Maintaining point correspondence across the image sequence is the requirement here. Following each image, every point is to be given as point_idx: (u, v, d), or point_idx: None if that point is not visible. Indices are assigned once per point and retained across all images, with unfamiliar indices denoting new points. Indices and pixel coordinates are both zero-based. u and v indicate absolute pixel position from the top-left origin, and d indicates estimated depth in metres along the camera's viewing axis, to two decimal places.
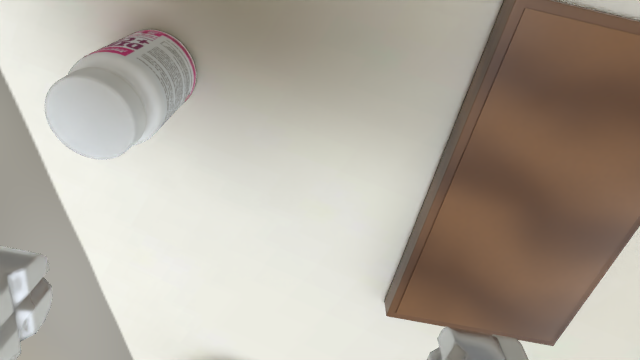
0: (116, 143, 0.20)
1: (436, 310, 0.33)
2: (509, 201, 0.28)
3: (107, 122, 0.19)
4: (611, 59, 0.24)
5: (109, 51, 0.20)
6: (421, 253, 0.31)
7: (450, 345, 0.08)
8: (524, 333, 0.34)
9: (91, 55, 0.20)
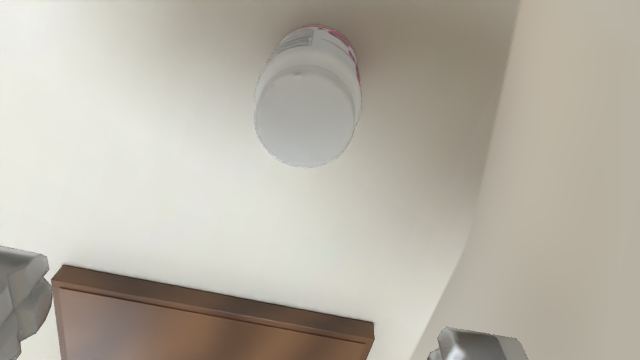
0: (277, 145, 0.17)
1: (76, 317, 0.33)
2: (213, 353, 0.34)
3: (302, 142, 0.17)
4: None
5: None
6: (142, 303, 0.32)
7: (449, 345, 0.08)
8: None
9: (360, 93, 0.19)
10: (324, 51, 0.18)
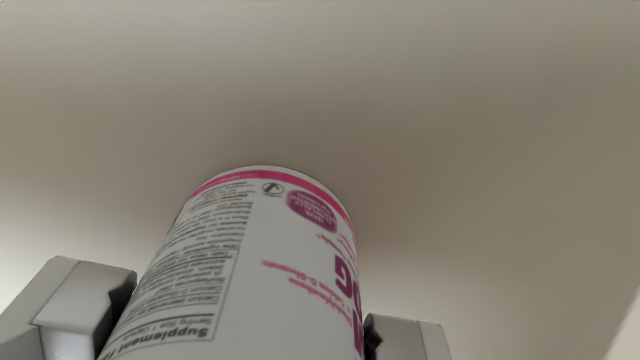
0: None
1: None
2: None
3: None
4: None
5: None
6: None
7: (370, 330, 0.08)
8: None
9: None
10: None
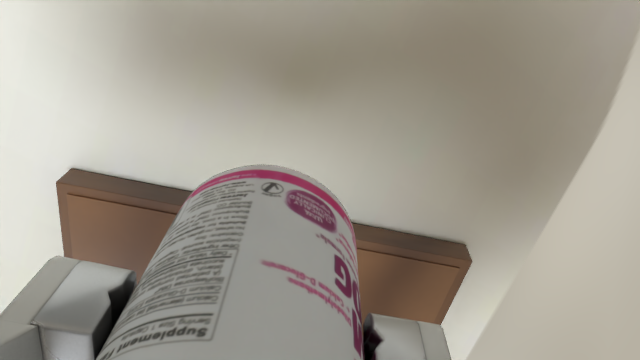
0: None
1: (88, 237, 0.26)
2: None
3: None
4: None
5: None
6: (175, 214, 0.24)
7: (369, 330, 0.08)
8: None
9: None
10: None
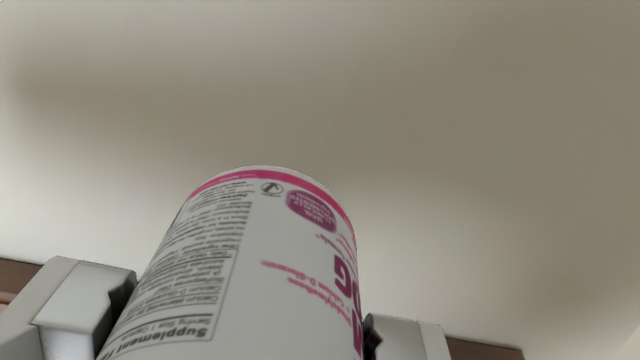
0: None
1: None
2: None
3: None
4: None
5: None
6: None
7: (369, 330, 0.08)
8: None
9: None
10: None
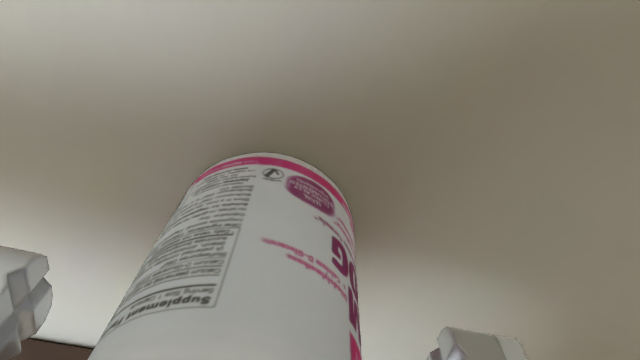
0: None
1: None
2: None
3: None
4: None
5: None
6: None
7: (450, 344, 0.08)
8: None
9: None
10: (251, 341, 0.06)
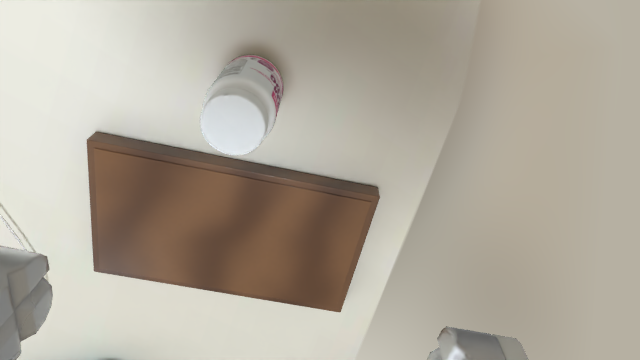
0: (216, 141, 0.26)
1: (108, 181, 0.36)
2: (233, 217, 0.37)
3: (232, 138, 0.26)
4: (338, 250, 0.39)
5: (276, 113, 0.28)
6: (170, 163, 0.35)
7: (450, 344, 0.08)
8: (102, 250, 0.39)
9: (273, 105, 0.28)
10: (247, 78, 0.27)
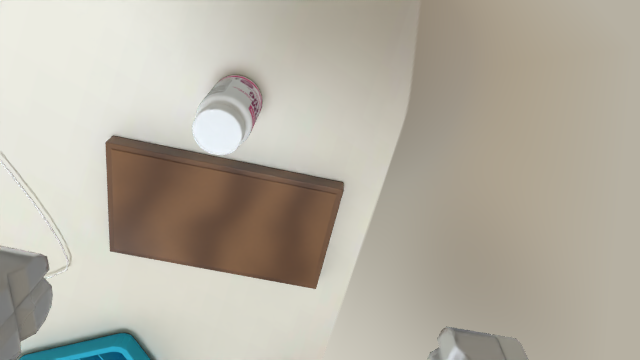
0: (204, 144, 0.34)
1: (122, 176, 0.44)
2: (223, 206, 0.45)
3: (217, 142, 0.34)
4: (311, 235, 0.47)
5: (252, 122, 0.36)
6: (172, 161, 0.43)
7: (450, 344, 0.08)
8: (117, 233, 0.48)
9: (250, 116, 0.36)
10: (229, 95, 0.35)
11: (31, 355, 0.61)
